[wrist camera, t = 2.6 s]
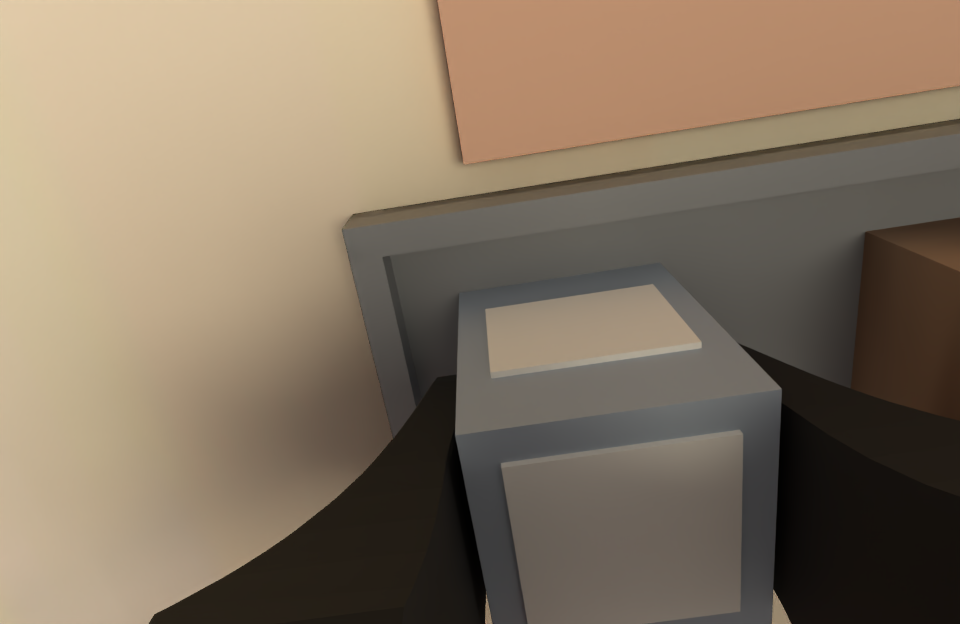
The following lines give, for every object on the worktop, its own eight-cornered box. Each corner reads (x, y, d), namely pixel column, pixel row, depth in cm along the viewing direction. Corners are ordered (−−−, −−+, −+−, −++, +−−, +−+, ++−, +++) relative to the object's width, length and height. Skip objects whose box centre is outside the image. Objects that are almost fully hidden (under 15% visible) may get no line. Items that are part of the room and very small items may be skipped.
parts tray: (1176, 85, 11) (1255, 87, 10) (1084, 428, 14) (1136, 460, 13) (353, 214, 12) (341, 229, 11) (425, 518, 15) (422, 555, 14)
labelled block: (659, 257, 12) (785, 386, 7) (666, 432, 13) (774, 632, 9) (458, 287, 12) (453, 433, 7) (488, 457, 14) (500, 667, 9)
